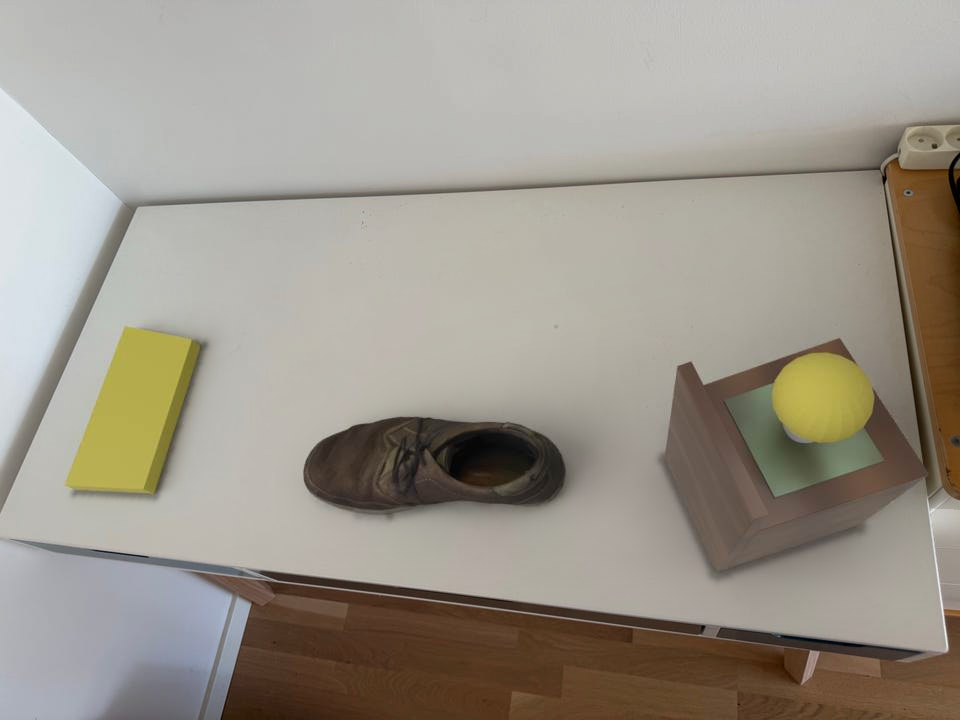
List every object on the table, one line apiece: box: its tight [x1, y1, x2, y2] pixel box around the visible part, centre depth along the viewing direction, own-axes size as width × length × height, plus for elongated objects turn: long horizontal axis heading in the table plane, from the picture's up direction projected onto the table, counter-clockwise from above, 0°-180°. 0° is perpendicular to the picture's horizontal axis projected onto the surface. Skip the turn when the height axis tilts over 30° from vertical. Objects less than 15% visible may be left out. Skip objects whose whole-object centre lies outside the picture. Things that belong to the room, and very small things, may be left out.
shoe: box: [302, 416, 566, 515], centre depth 74 cm, size 12×31×10 cm, turn 80°
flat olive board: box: [64, 325, 201, 495], centre depth 90 cm, size 12×2×24 cm
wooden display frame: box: [664, 337, 930, 573], centre depth 59 cm, size 15×13×24 cm
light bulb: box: [771, 353, 874, 443], centre depth 49 cm, size 7×7×10 cm
